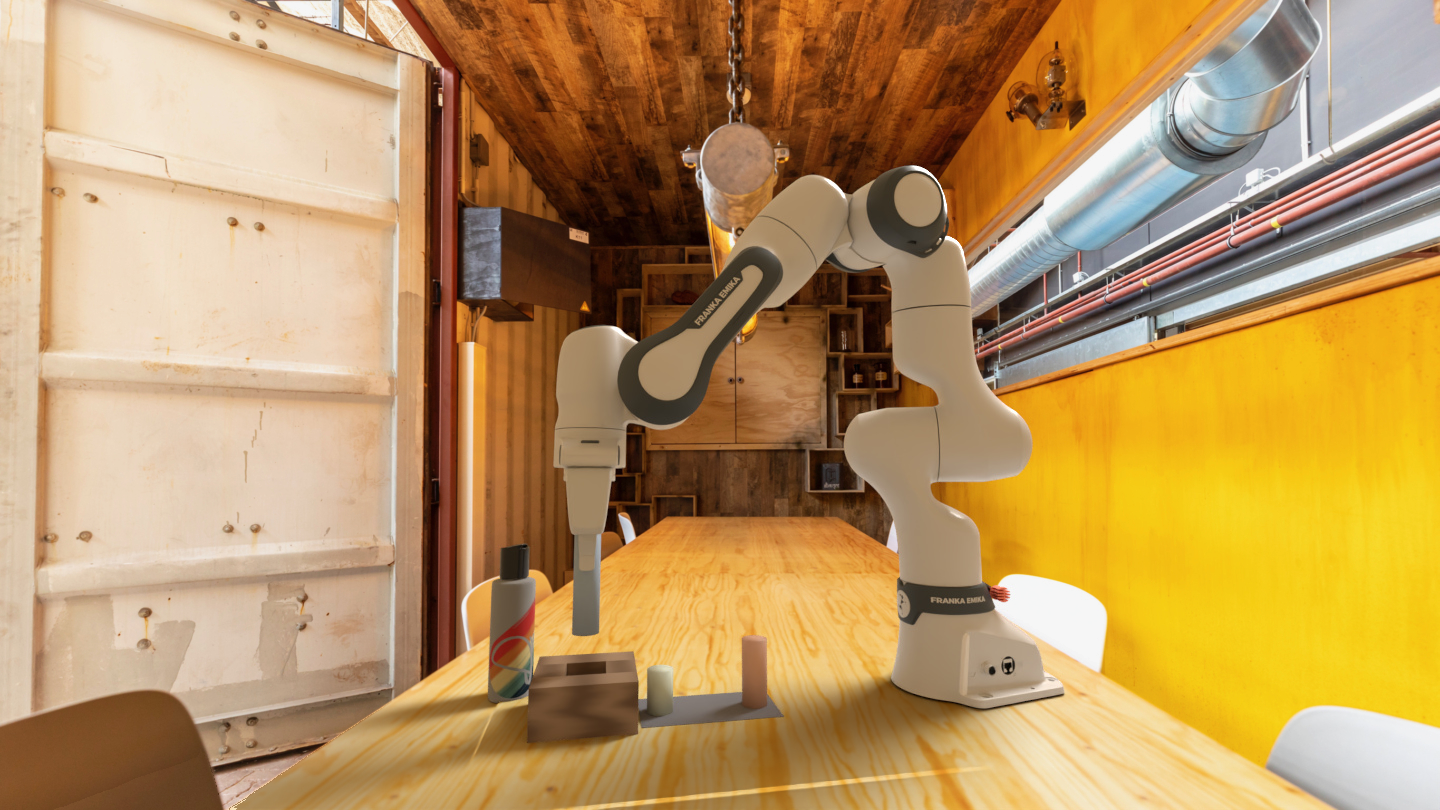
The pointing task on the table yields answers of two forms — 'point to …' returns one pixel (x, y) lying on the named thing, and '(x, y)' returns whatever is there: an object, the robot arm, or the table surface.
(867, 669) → the table surface
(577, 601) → the pin long
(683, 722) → the mat
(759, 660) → the pin medium
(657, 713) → the pin short
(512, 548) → the lotion bottle
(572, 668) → the socket block
